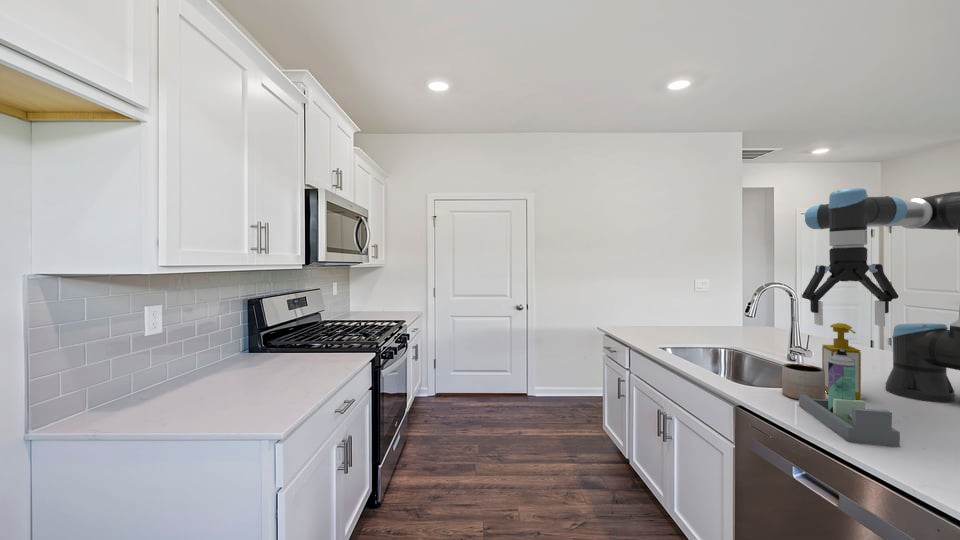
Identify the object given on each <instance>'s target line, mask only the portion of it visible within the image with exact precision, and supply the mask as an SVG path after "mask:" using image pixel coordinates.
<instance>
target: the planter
mask: <svg viewBox="0 0 960 540" xmlns="http://www.w3.org/2000/svg"><path fill="white" fill-rule="evenodd" d="M781 376H782V377H781V378H782V385H781V386H782V387H781V388H782V390H781V392H782V394H784V396H786V397H787V398H790V399H793V400H796V401H799V394H801V395H806V396H808V397H809V398H812V399H826V393H825V370H824V369H822V368H821V367H819V366H815V365H810V364H804V363H784V364H782V375H781Z"/></svg>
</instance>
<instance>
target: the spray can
mask: <svg viewBox="0 0 960 540" xmlns="http://www.w3.org/2000/svg"><path fill="white" fill-rule="evenodd" d="M827 396H828V397H827V400H828V409H827V410H829V411H830V412H832V413H833V399H847V400H856V399H855V360H854V359H852V358H850V357H849V355H847V353H846V350H843V349H838V351H837V353H836V354H835V355H833V356H831V357H829V360H828V394H827Z"/></svg>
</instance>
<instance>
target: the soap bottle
mask: <svg viewBox="0 0 960 540" xmlns="http://www.w3.org/2000/svg"><path fill="white" fill-rule="evenodd" d="M829 327H830V328H832V332H834V333H837V338H833V344H822V346H821V347H822V348H821V350H822V351H821V352H822V363H821V365H822V366H821V367H822V369H824V370H825V391H826V392H827V393H828V360H829V357H831V356H833V355H835V354H836V353H837V351H838V349H843V350H846V353H847V355H849V357H850V358H852V359H854V360H855V400H856V399H858V400H862V399H861V396H862V395H861V394H862V393H861V392H862V390H861V388H862V387H861V386H862V385H861V384H862V383H861V382H862V381H861V380H862V379H861V378H862V376H861V375H862V374H861V373H862V372H861V371H862V368H861V367H862V363H861V362H862V357H861V355H862V354H861V351H862V350H860V349H858V348H856V347H853V346H851V345H849V339H846V338H845V333H846V334H848V333H850V332H851V333H852V334H856V331H854V330H853V327H852V326H851V325H849V324H846V323H844V322H843V323H841V322H837V323H833V324H830V325H829ZM827 393H826V394H827Z"/></svg>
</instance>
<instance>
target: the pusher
mask: <svg viewBox="0 0 960 540" xmlns="http://www.w3.org/2000/svg"><path fill="white" fill-rule="evenodd" d="M852 408H862V409H866V401H864V400H863V399H861V400H856V399H855V400H847V399H833V414H835V415H836V416H838V417H839V418H841V419H842V420H844V421H845V422H847V423H848V424H850V425H851V426H852Z"/></svg>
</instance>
